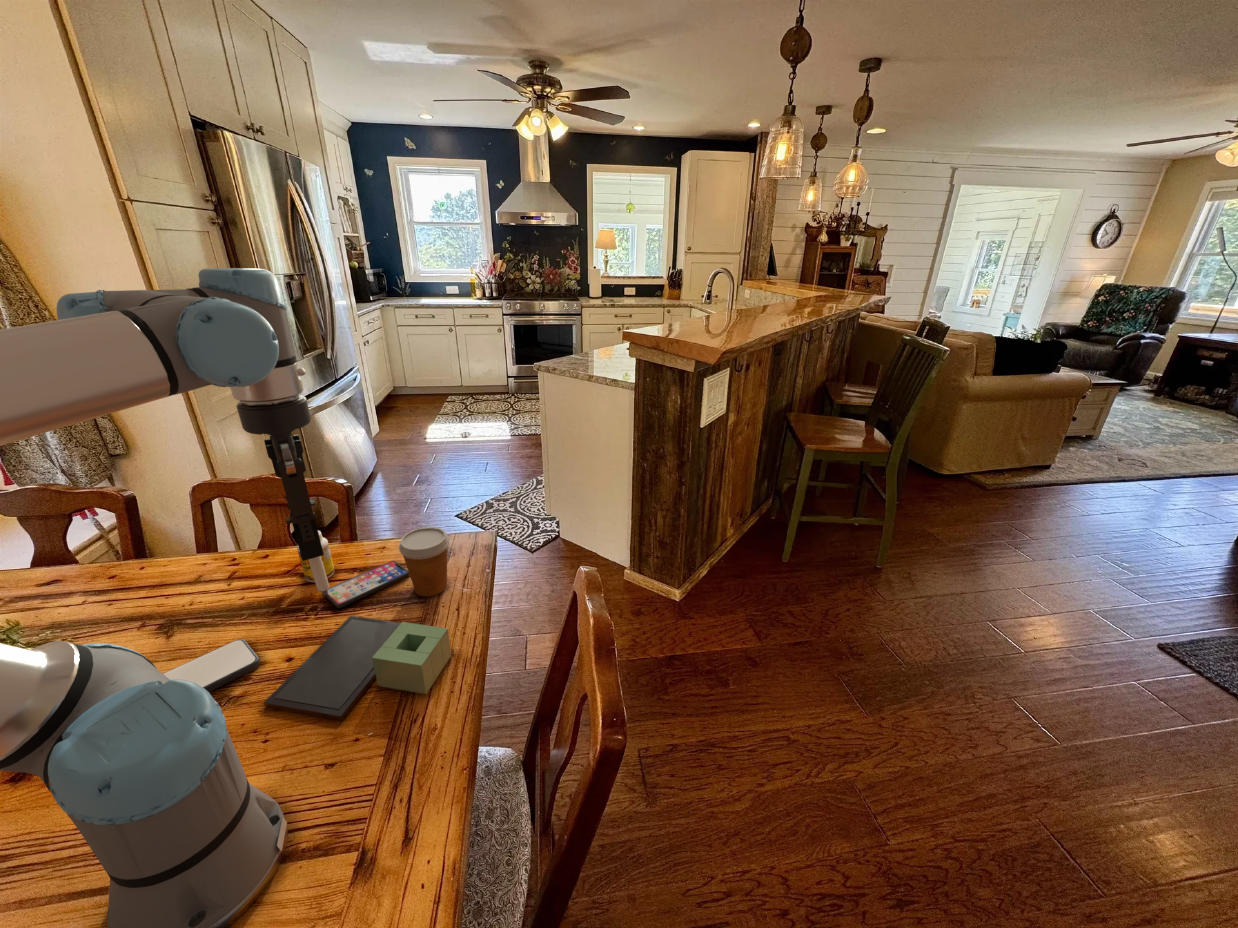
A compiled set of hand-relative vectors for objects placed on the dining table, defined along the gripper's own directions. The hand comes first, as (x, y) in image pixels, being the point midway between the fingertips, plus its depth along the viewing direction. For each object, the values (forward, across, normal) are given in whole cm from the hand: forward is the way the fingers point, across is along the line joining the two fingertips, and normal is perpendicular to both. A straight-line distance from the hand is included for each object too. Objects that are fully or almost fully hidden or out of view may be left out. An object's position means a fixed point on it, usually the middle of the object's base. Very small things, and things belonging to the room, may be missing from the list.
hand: (311, 553), depth 72 cm
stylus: (+7, 0, 0) cm, 7 cm away
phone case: (+24, +11, +19) cm, 33 cm away
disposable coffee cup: (+24, +15, -19) cm, 34 cm away
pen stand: (+23, -6, -10) cm, 26 cm away
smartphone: (+23, +23, -8) cm, 34 cm away
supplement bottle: (+24, +32, -1) cm, 40 cm away
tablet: (+23, +2, -1) cm, 24 cm away
